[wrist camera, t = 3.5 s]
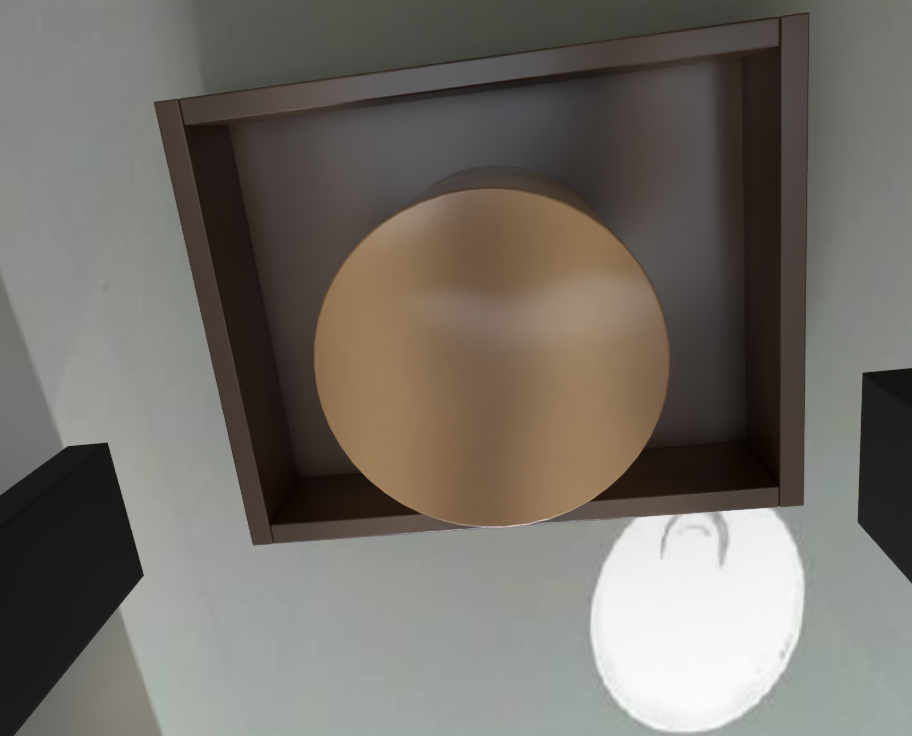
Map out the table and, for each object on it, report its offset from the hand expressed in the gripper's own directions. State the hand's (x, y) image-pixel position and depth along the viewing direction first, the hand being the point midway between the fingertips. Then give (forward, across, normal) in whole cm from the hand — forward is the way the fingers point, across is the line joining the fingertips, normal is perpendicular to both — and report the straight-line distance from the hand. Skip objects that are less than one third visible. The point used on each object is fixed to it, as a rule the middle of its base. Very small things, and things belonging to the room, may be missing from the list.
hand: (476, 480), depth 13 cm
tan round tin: (+16, 0, 0) cm, 16 cm away
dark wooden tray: (+17, 0, 0) cm, 17 cm away
